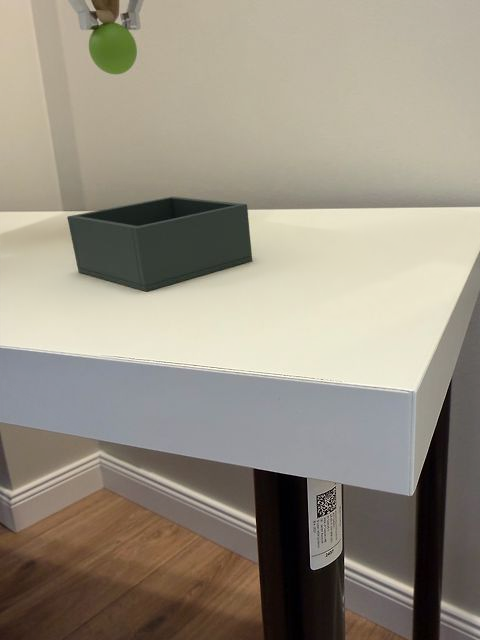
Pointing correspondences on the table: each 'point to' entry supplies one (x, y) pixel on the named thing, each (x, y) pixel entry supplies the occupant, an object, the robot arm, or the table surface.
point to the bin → (161, 241)
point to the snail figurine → (111, 40)
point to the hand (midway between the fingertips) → (111, 30)
